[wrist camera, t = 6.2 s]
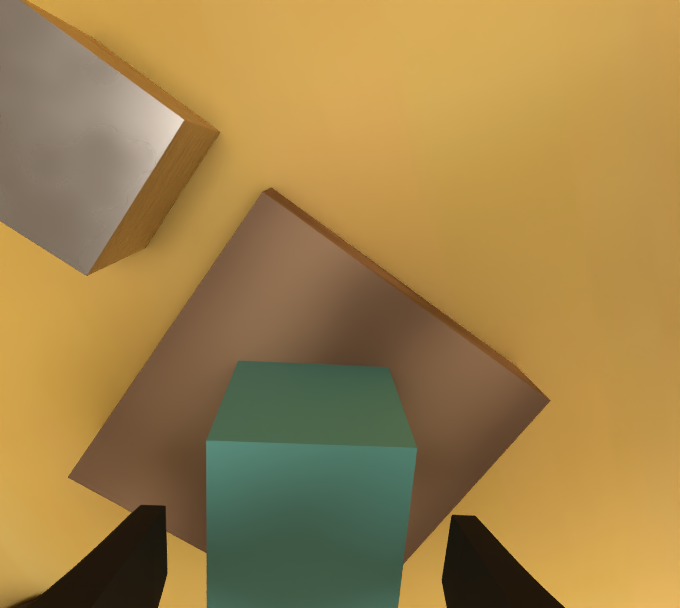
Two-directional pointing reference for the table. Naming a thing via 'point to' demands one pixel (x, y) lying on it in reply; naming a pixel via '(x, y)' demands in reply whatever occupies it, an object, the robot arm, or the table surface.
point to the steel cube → (86, 142)
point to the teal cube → (308, 488)
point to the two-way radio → (24, 605)
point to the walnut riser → (310, 348)
